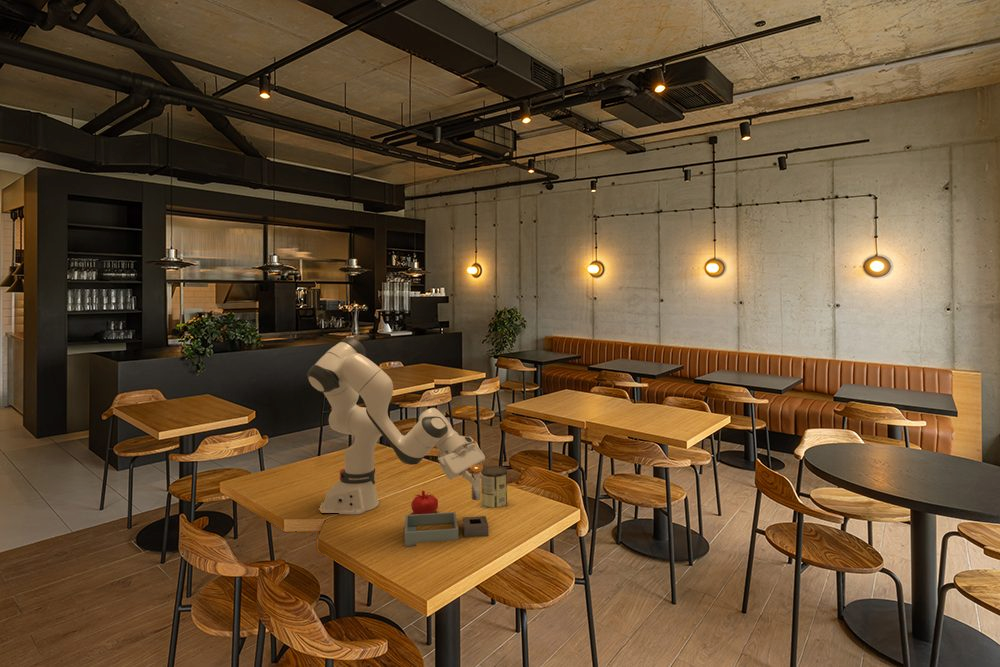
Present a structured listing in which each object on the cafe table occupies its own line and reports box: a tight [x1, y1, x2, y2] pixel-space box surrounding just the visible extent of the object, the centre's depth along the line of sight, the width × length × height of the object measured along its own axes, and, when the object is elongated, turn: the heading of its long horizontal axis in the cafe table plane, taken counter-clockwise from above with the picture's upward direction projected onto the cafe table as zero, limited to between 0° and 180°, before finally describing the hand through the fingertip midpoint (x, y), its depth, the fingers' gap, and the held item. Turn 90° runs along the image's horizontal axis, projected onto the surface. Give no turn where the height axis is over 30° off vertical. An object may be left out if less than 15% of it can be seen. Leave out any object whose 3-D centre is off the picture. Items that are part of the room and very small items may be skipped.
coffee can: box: [480, 465, 508, 509], centre depth 209 cm, size 10×10×14 cm
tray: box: [404, 511, 459, 547], centre depth 183 cm, size 18×15×4 cm
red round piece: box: [410, 490, 439, 515], centre depth 200 cm, size 10×10×9 cm
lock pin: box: [469, 464, 483, 501], centre depth 183 cm, size 4×4×11 cm
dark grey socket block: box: [462, 515, 489, 538], centre depth 183 cm, size 8×8×4 cm
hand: (477, 480), depth 183 cm, fingers closed on lock pin, 3 cm apart
